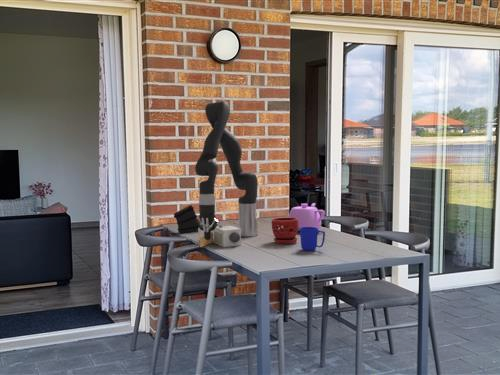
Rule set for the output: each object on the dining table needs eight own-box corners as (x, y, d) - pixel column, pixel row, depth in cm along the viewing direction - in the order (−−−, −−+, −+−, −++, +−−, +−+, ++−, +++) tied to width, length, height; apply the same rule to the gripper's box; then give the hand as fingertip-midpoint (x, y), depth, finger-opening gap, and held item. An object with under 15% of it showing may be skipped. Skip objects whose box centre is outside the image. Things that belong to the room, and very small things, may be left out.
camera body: (230, 240, 289) (230, 223, 288) (242, 245, 276) (242, 227, 275) (213, 242, 285) (212, 225, 284) (224, 247, 272) (224, 229, 271)
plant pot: (300, 240, 289) (300, 216, 287) (295, 245, 276) (295, 220, 275) (275, 239, 292) (275, 216, 291) (268, 244, 279) (268, 219, 278)
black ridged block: (204, 229, 317) (192, 205, 314) (183, 240, 314) (170, 216, 311) (202, 228, 320) (190, 204, 317) (181, 239, 317) (169, 215, 314)
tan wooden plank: (213, 242, 285) (213, 232, 285) (201, 247, 272) (201, 236, 272) (210, 242, 286) (210, 232, 285) (198, 247, 273) (198, 236, 272)
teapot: (318, 234, 306) (318, 206, 304) (283, 231, 316) (283, 204, 315) (335, 228, 325) (335, 202, 324) (301, 225, 336) (301, 200, 335)
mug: (320, 253, 257) (320, 230, 256) (296, 250, 264) (296, 228, 263) (328, 249, 264) (328, 228, 263) (304, 247, 271) (304, 226, 270)
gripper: (223, 203, 271) (223, 239, 273) (199, 201, 278) (200, 237, 279) (214, 204, 265) (214, 242, 266) (190, 203, 271) (191, 239, 273)
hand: (207, 239), depth 273 cm, fingers closed
